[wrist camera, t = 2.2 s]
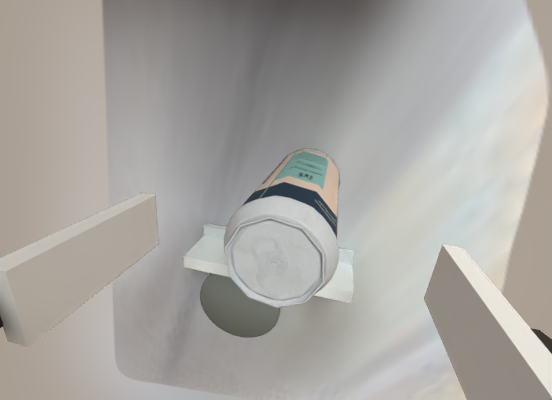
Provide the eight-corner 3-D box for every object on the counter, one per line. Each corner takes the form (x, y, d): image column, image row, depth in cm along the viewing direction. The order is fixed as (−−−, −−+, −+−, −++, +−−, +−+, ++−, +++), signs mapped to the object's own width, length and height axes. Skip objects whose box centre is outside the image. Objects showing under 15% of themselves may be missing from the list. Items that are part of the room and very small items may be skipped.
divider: (206, 223, 25) (183, 245, 21) (354, 250, 23) (356, 280, 19) (206, 251, 26) (184, 277, 22) (347, 280, 24) (348, 314, 20)
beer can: (290, 213, 23) (243, 323, 12) (268, 159, 22) (193, 225, 11) (348, 197, 21) (355, 306, 10) (328, 137, 20) (313, 188, 9)
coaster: (201, 259, 26) (199, 262, 26) (283, 277, 25) (282, 279, 25) (202, 323, 29) (200, 326, 29) (276, 342, 28) (275, 345, 28)
